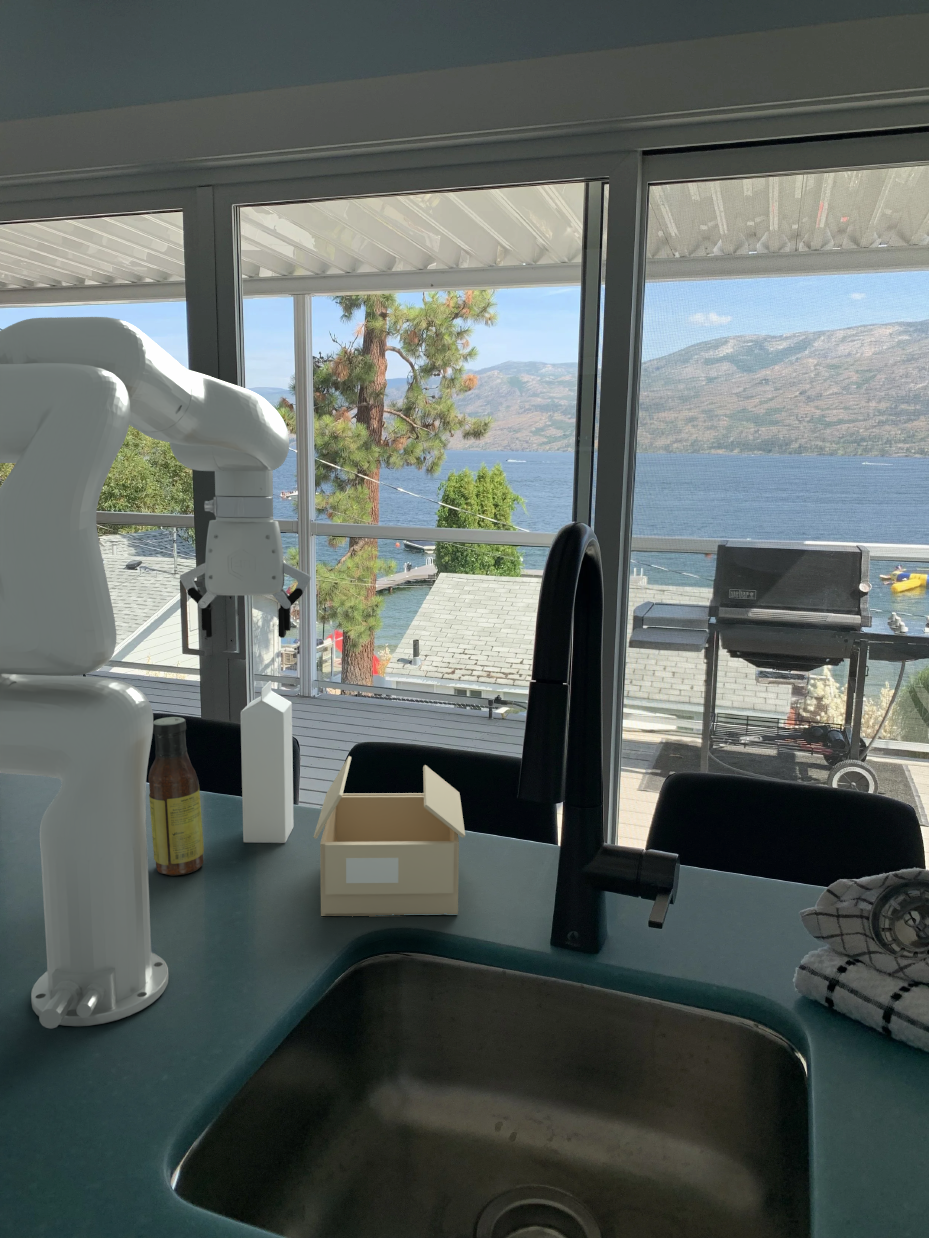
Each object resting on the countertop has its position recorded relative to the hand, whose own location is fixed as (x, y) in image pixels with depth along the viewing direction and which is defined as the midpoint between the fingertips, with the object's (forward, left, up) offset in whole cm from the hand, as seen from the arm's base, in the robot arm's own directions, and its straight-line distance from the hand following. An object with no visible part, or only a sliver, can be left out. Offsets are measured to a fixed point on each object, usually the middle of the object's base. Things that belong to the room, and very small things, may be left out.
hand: (246, 636), depth 124 cm
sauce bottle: (-10, +8, -29) cm, 32 cm away
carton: (-16, -20, -29) cm, 39 cm away
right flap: (-16, -26, -18) cm, 36 cm away
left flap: (-16, -13, -17) cm, 27 cm away
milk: (+1, -2, -29) cm, 29 cm away
